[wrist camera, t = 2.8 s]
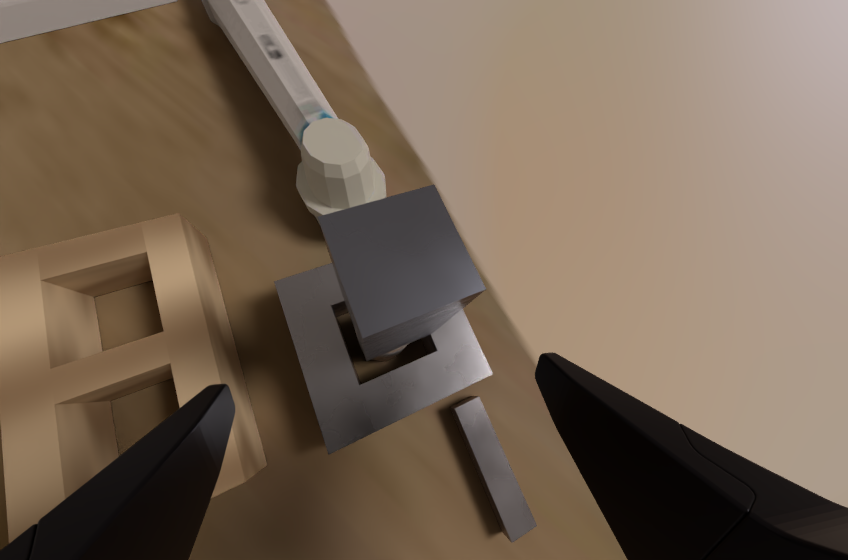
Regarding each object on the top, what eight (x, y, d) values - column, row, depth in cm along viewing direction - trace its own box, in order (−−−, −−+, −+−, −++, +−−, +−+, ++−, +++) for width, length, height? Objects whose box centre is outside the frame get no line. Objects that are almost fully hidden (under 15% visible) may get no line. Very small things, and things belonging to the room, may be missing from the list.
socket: (475, 375, 19) (492, 373, 17) (335, 443, 17) (328, 454, 14) (419, 252, 21) (426, 232, 19) (288, 296, 19) (274, 281, 16)
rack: (267, 464, 16) (245, 481, 13) (84, 551, 14) (12, 593, 11) (206, 237, 19) (179, 212, 17) (51, 279, 17) (-11, 259, 14)
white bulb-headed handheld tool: (241, -63, 24) (404, 147, 15) (272, 36, 30) (401, 225, 21) (166, -55, 22) (304, 183, 14) (215, 48, 28) (331, 256, 20)
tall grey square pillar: (413, 349, 19) (485, 289, 7) (368, 369, 18) (362, 338, 6) (395, 306, 20) (434, 184, 8) (351, 323, 19) (316, 216, 7)
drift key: (526, 516, 17) (537, 525, 16) (502, 532, 17) (511, 542, 16) (472, 395, 19) (478, 396, 18) (449, 407, 18) (454, 408, 17)
